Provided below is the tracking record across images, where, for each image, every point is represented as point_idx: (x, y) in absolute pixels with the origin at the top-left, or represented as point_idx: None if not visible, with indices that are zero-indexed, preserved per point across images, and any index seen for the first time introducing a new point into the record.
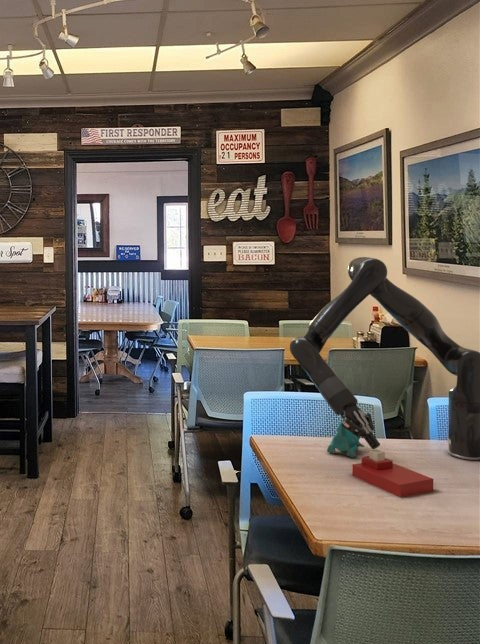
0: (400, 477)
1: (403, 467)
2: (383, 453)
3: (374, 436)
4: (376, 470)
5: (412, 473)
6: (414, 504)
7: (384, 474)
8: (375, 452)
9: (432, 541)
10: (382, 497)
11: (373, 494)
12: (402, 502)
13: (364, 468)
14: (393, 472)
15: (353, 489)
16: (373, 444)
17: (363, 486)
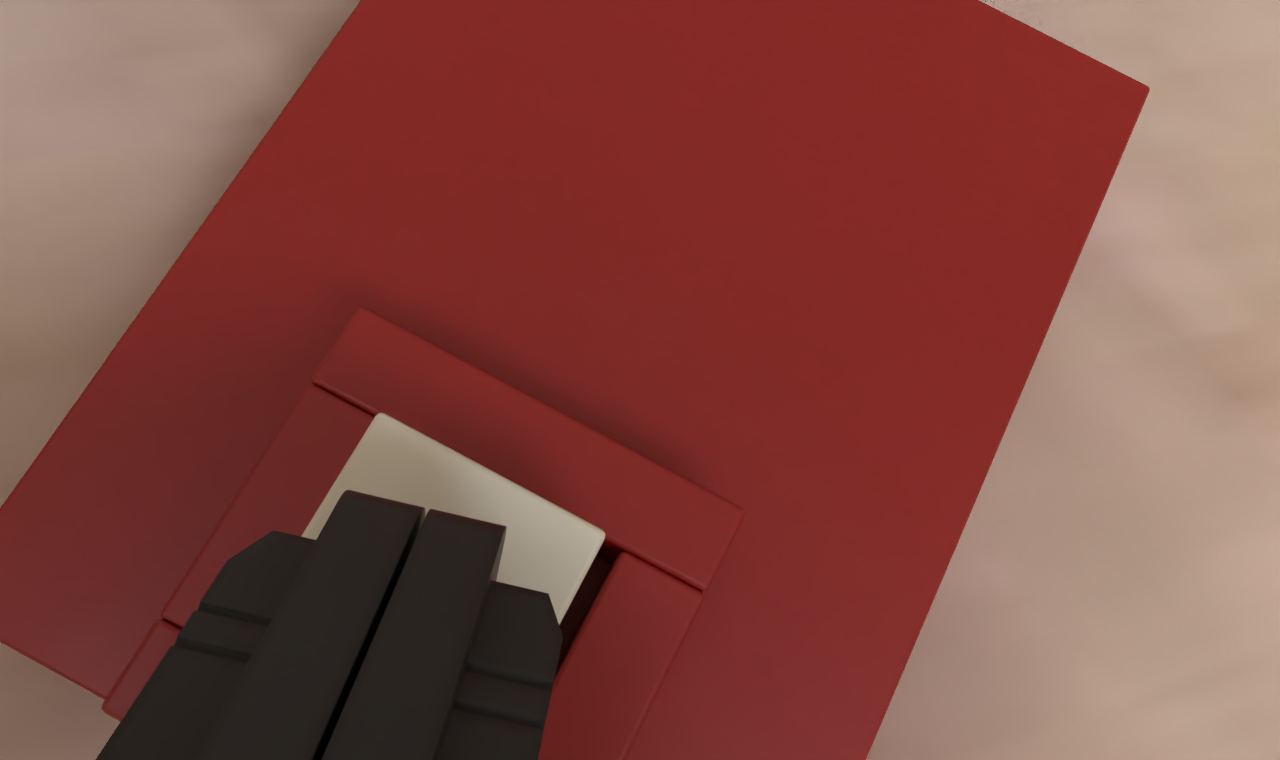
0: (822, 141)
1: (248, 196)
2: (421, 436)
3: (248, 672)
4: (762, 536)
5: (481, 30)
6: (1148, 6)
7: (874, 370)
8: (571, 586)
9: None
10: (1235, 342)
11: (1228, 462)
12: (1197, 120)
13: (817, 752)
14: (657, 275)
15: (1273, 747)
16: (555, 634)
17: (1042, 667)
